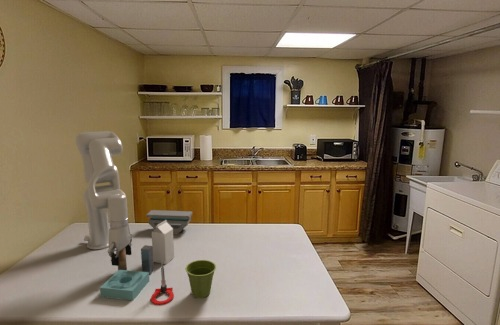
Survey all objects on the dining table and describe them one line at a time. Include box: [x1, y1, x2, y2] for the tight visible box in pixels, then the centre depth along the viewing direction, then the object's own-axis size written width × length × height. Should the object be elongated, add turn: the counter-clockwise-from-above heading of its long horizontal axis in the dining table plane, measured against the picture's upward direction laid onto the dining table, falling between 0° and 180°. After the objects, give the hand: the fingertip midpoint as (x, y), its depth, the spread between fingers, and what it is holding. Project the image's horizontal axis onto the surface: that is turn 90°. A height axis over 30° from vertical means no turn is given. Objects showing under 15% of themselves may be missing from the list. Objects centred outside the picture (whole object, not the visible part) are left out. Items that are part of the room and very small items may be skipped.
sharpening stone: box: [146, 209, 193, 235], centre depth 183 cm, size 25×8×11 cm, turn 86°
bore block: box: [99, 269, 150, 301], centre depth 126 cm, size 13×13×4 cm
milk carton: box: [151, 220, 175, 265], centre depth 148 cm, size 7×7×19 cm
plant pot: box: [184, 259, 217, 299], centre depth 122 cm, size 12×12×11 cm
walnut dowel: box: [117, 247, 128, 271], centre depth 137 cm, size 4×4×12 cm
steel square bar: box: [140, 244, 155, 276], centre depth 137 cm, size 4×4×12 cm
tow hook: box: [150, 262, 175, 306], centre depth 119 cm, size 8×13×9 cm
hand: (122, 259), depth 136 cm, fingers open, 9 cm apart
